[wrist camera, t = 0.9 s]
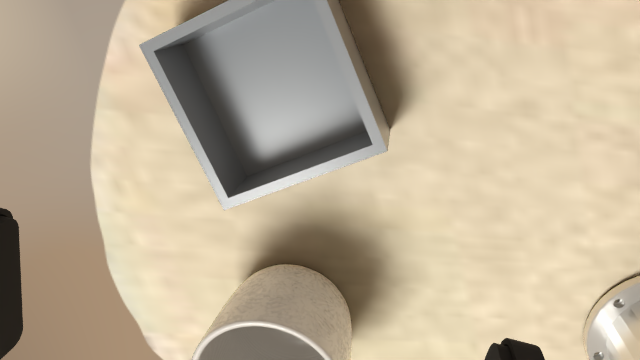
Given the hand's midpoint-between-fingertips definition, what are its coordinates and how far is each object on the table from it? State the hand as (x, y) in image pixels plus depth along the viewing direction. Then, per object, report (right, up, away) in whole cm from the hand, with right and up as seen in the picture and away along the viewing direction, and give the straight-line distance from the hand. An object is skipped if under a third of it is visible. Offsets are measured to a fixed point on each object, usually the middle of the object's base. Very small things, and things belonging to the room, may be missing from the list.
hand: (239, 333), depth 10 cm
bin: (-2, +11, +31) cm, 33 cm away
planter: (-1, -9, +39) cm, 40 cm away
